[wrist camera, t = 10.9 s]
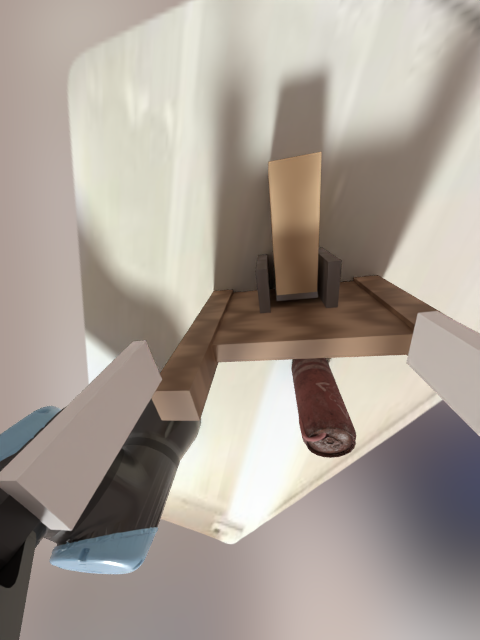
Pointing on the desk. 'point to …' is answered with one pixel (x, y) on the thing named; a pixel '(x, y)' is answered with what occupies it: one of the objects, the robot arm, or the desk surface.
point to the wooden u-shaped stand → (286, 331)
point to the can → (321, 409)
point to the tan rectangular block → (295, 224)
